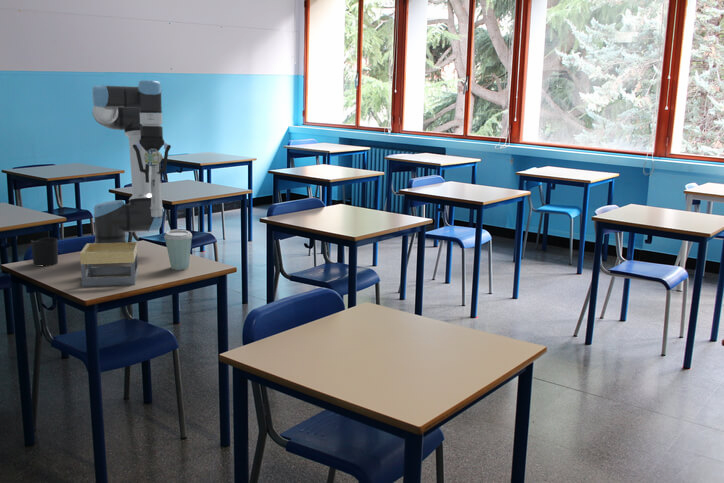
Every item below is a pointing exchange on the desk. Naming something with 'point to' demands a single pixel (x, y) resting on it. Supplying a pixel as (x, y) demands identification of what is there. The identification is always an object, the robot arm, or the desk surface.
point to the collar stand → (109, 254)
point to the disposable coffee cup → (178, 248)
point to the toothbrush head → (155, 182)
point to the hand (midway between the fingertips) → (153, 191)
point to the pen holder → (45, 251)
